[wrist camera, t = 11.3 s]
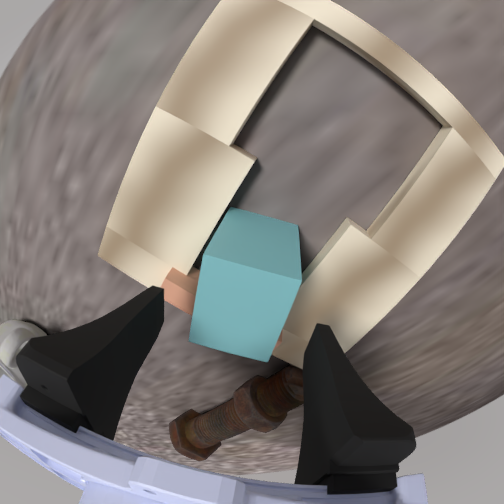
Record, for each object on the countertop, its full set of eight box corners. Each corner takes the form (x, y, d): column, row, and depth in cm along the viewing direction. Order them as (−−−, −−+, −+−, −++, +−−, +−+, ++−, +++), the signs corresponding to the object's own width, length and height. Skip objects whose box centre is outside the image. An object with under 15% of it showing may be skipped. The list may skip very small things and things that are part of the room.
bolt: (307, 350, 24) (203, 412, 29) (269, 344, 20) (164, 411, 26) (334, 411, 20) (216, 459, 25) (297, 417, 17) (176, 463, 22)
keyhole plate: (496, 157, 13) (519, 166, 11) (317, 364, 22) (318, 389, 20) (252, -28, 10) (246, -47, 8) (106, 247, 19) (87, 264, 17)
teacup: (64, 384, 30) (37, 428, 23) (6, 328, 27) (-28, 366, 20) (101, 350, 25) (62, 412, 18) (23, 272, 22) (-30, 320, 15)
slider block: (298, 224, 17) (301, 280, 12) (274, 294, 19) (267, 362, 14) (230, 206, 17) (203, 254, 12) (214, 278, 19) (188, 341, 14)
